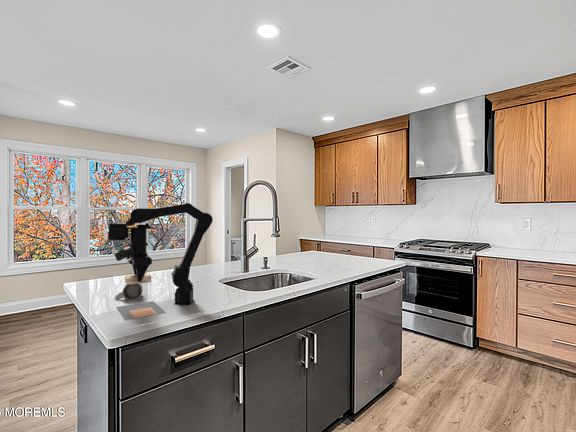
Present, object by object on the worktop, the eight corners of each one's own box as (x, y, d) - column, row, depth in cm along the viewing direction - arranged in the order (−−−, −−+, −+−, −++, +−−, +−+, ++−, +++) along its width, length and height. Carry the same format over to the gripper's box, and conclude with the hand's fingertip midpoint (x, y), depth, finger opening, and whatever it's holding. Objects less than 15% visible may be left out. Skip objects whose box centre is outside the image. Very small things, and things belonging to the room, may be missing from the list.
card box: (148, 279, 128) (148, 273, 128) (151, 281, 123) (151, 275, 123) (124, 281, 123) (125, 275, 123) (127, 284, 118) (127, 278, 118)
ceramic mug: (142, 294, 142) (142, 277, 142) (142, 299, 135) (142, 281, 135) (115, 297, 138) (115, 280, 138) (114, 302, 130) (114, 284, 130)
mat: (153, 302, 131) (153, 300, 131) (166, 313, 117) (166, 312, 117) (115, 307, 123) (115, 306, 123) (125, 321, 109) (125, 320, 109)
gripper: (112, 239, 126) (111, 277, 126) (118, 243, 111) (118, 287, 111) (142, 237, 132) (141, 274, 133) (152, 242, 117) (152, 283, 117)
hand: (138, 279), depth 123 cm, fingers closed on card box, 5 cm apart
